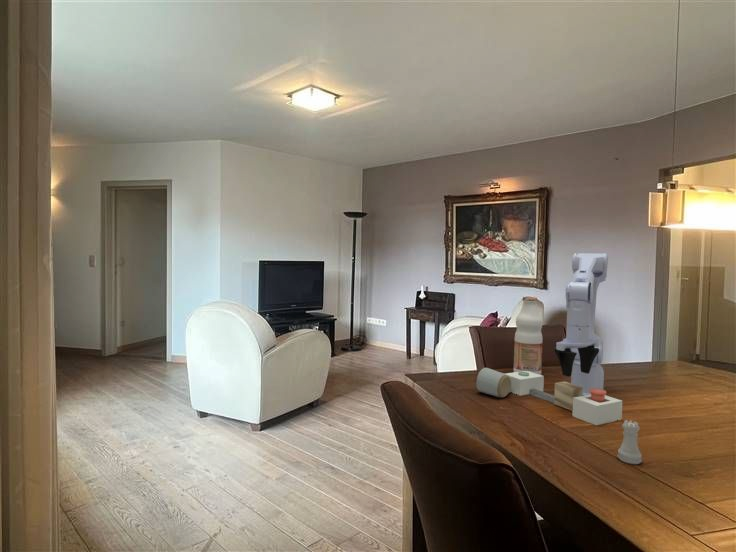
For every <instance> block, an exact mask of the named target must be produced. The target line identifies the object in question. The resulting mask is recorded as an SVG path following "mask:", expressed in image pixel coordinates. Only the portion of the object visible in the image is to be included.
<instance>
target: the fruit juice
mask: <svg viewBox="0 0 736 552" xmlns="http://www.w3.org/2000/svg"><path fill="white" fill-rule="evenodd" d="M537 303H538V297H536V296H523V297H522V307H521V310H520V311H519V313H518V314H517V316H516V318H515V325H516V326H515V327H516V330H515V333H514V348H513V349H514V351H513V354H514V355H513V372H521V371H529V372H533V373H536V374H539V375H542V363H543V361H542V360H543V334H542V328H543V326H544V325H543V324H544V323H543V321H544V320H543V318H542V317H541V315H540V313H539V310H538V306H537Z"/></svg>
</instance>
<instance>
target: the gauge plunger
mask: <svg viewBox="0 0 736 552" xmlns="http://www.w3.org/2000/svg"><path fill="white" fill-rule="evenodd" d="M589 392H590V393H591V400H593V401H596V402H599V403H601V402H604V401H605V395H606V396H607V390H605V389H603V390H602V389H597V388H591V389H589Z"/></svg>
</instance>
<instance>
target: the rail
mask: <svg viewBox="0 0 736 552" xmlns="http://www.w3.org/2000/svg"><path fill="white" fill-rule="evenodd" d="M529 395H530V396H534V397H536V398H539V399H541V400H544V401H546V402H549V403H552V404H554V395H553V394H551V393H548V392H545V391H544V390H543V391H540V390H537V389H531V390H530V394H529Z"/></svg>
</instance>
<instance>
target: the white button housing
mask: <svg viewBox="0 0 736 552" xmlns="http://www.w3.org/2000/svg"><path fill="white" fill-rule="evenodd" d="M571 415H572V417H573V418H576V419H578V420H581V421H584V422H586V423H589V424H592V425H595V426H601V425H605V424H608V423H613V422H617V420H618V421H621V420H622V419H623V400H621V399H618V398H616V397H615V398H614V397H612V396H609V395H607V394H606V395H605V401H604V402H601V403H599V402H596V401H593V400H591V394H590V395H585V396H579V397H574V398H573V411H572V414H571Z"/></svg>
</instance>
